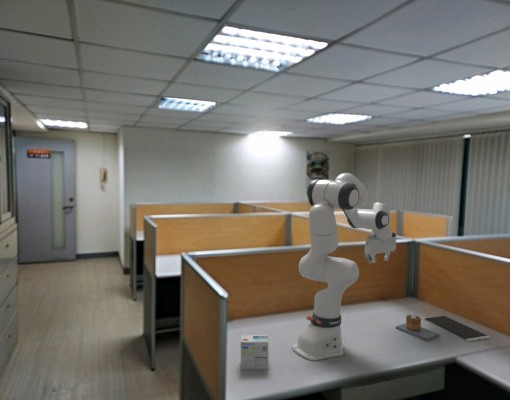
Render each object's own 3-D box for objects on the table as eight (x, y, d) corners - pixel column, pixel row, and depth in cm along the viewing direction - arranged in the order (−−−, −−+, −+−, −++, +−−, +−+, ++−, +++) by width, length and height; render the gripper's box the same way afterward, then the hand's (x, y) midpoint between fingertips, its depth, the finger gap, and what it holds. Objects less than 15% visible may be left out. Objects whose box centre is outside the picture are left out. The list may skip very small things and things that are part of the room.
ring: (415, 331, 165) (415, 320, 165) (403, 326, 170) (404, 316, 170) (422, 328, 168) (423, 317, 168) (411, 324, 173) (411, 314, 173)
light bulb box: (267, 360, 140) (267, 333, 139) (268, 369, 133) (269, 341, 132) (240, 361, 139) (240, 334, 139) (240, 370, 133) (240, 341, 132)
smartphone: (467, 343, 158) (468, 339, 158) (422, 320, 184) (422, 317, 184) (490, 340, 162) (490, 336, 162) (443, 318, 188) (443, 314, 188)
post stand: (426, 341, 158) (427, 325, 158) (395, 328, 172) (396, 314, 171) (439, 336, 164) (439, 320, 163) (408, 324, 177) (408, 310, 177)
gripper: (372, 236, 170) (371, 265, 170) (398, 233, 181) (398, 260, 182) (361, 234, 175) (361, 262, 176) (388, 232, 186) (387, 258, 187)
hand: (380, 261), depth 179 cm, fingers open, 8 cm apart
